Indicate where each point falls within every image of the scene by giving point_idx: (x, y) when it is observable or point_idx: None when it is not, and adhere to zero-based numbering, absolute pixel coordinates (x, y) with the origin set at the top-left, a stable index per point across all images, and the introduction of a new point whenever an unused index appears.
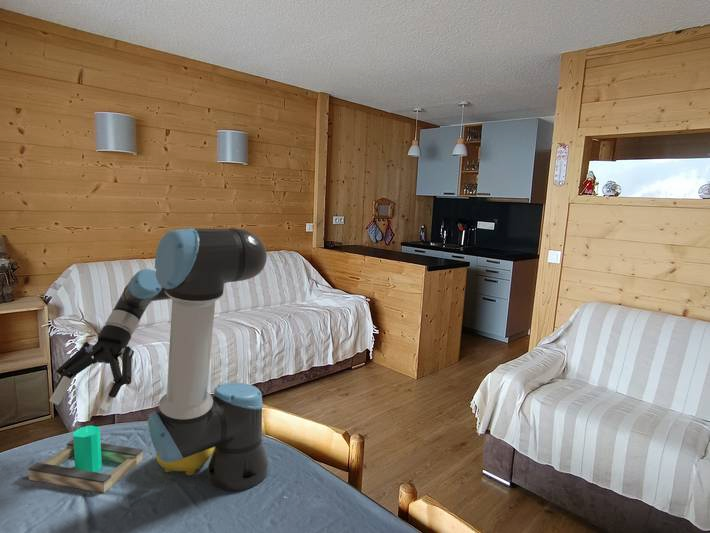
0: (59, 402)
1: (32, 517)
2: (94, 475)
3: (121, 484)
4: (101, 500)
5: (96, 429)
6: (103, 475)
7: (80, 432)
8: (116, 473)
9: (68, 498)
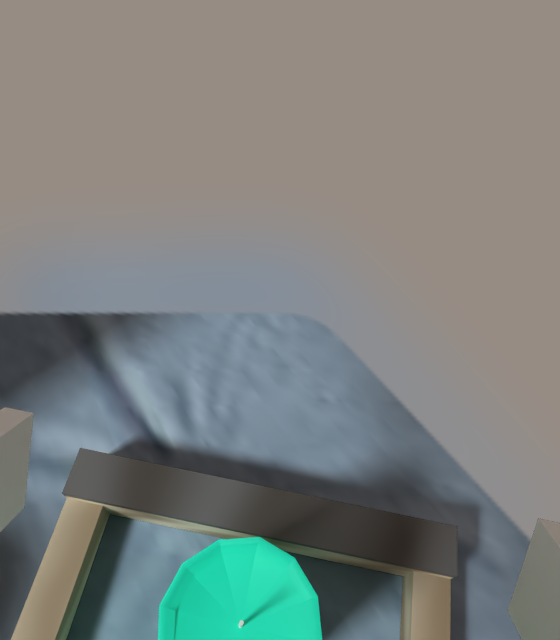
0: (517, 623)
1: (270, 344)
2: (136, 485)
3: (38, 523)
4: (86, 423)
5: None
6: (96, 488)
7: (286, 630)
8: (56, 539)
9: (211, 430)
